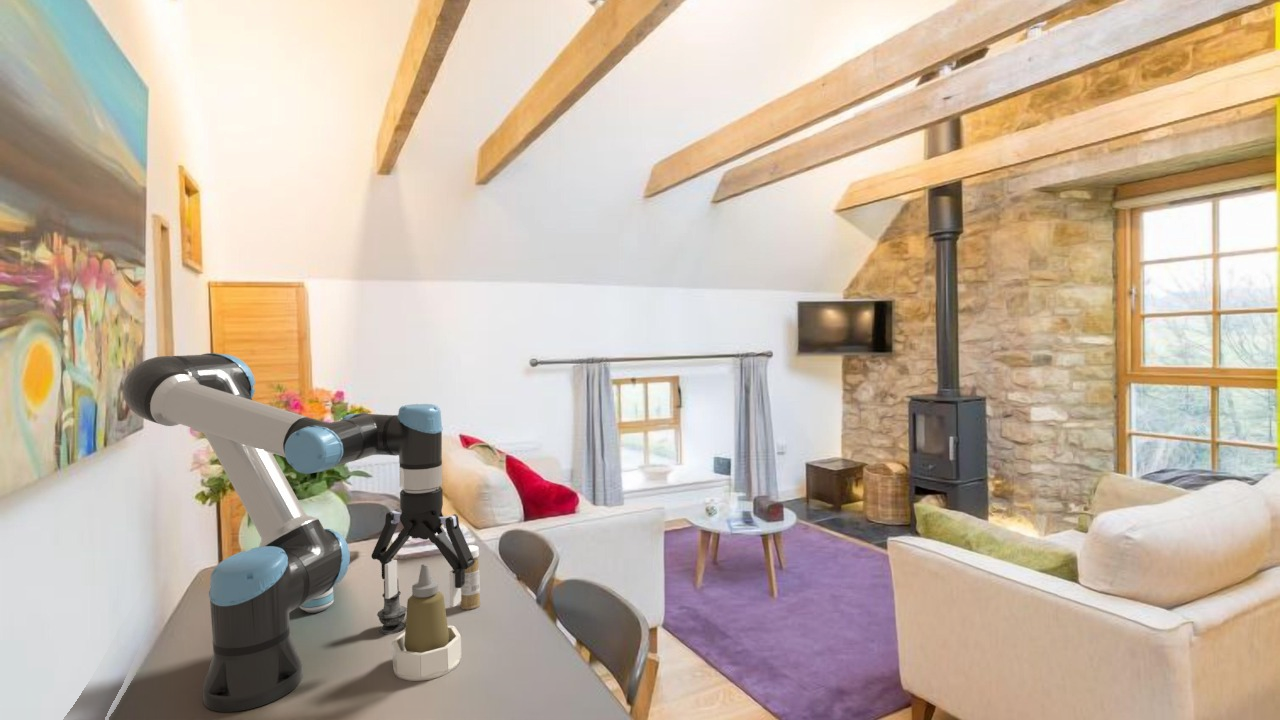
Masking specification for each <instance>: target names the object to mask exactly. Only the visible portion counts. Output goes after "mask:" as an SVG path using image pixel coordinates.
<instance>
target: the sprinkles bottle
mask: <svg viewBox="0 0 1280 720" xmlns="http://www.w3.org/2000/svg"><path fill="white" fill-rule="evenodd" d="M467 545H468V544H467ZM468 547H469V549H470V552H471V554H472V556H473V558H474V561H475V563H474V564H473V565H472V566H470V567H469V568H467V569H465V584H464V586H462V587H461V602H460V604H459V606H460V608H461V609H463V610H473V609H477V608H478V607H479V606H481V600H480V594H481V593H480V592H481V587H480V586H481V585H480V568H479V555H480V550H479V549H480V548H479V546H478V545H473V544H471V545H470V544H469V545H468Z"/></svg>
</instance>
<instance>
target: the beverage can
mask: <svg viewBox="0 0 1280 720" xmlns="http://www.w3.org/2000/svg"><path fill="white" fill-rule="evenodd" d="M333 603H334V587H332V588H331V589H330V590H329V591H327V592H326V593H324V594H322V595H319V596H317V597H316V598H314V599H312V600H310V601H309V602H307V603H305V604H303V605H302V606H300V607H299V609H301V610H302V611H304V612H306V613H308V614H309V613H310V614H311V613H312V614H313V613H319V612H322V611H326V610H327V609H328V608H329V607H330V606H331V605H332V604H333Z"/></svg>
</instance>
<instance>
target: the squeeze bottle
mask: <svg viewBox="0 0 1280 720" xmlns="http://www.w3.org/2000/svg"><path fill="white" fill-rule="evenodd" d="M418 576H419V577H418V581H416V582H415V583H413V584H412V587H411V588H412V590H411V592H412V595H410V596H409V598H407V602H406V608H407V612H406V615H405V624H406V628H405V629H404V630H405V631H404V632H405V642H404V646H405V649H406V651H409V652H417V653H423V652H427V651H430V650H434V649H438V648H442V647H445V646H446V645H447V644H448V640H449V633H448V619H447V613H446V612H447V611H446V604H445V597H444V594H443V593H442V592H440V591H439V582H438V581H437V580H435V579H432V576H431V572H430V567H429V564H428V563H424V564H421V565H420V571H419V575H418Z"/></svg>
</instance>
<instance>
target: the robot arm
mask: <svg viewBox="0 0 1280 720" xmlns="http://www.w3.org/2000/svg"><path fill="white" fill-rule="evenodd" d="M255 385H256V380H255V375H254V373H253V372H252V370H251V369H250V367H249V366H248V364H246V363H245V362H244V361H243V360H242V359H240V358H238V356H237V357H236V356H234V355H232V354H231V355H230V354H225V353H221V354H220V353H215V352H211V353H202V354H188V355H187V354H186V355H172V356H171V355H163V356H156V357H151V358H147V359H146V360H144V361H142V362H140V363H138V364H136V365H135V367H133V368H131V370H130V371H129V372H128V374H127V375H126V376H125V379H124V381H123V385H122V394H123V399H124V402H125V404H126V405H127V407H128V408H129V409H130V411H131V412H133V413H134V414H135V415H137V416H138V417H140V418H142V419H145V420H147V421H149V422H152V423H156V424H158V425H162V426H166V427H175V426H178V425H182V426H184V427H185V426H186V427H189V428H190V429H191V430H192V431H194V432H198V433H202V434H203V435H204V436H205V437H206V439H207V441H208V443H209V445H210V446H211V448H212V450H213V452H214V453H215V456H216V458H217V459H218V461H219V463H220V465H221V467H222V468H223V470H224V472H225V474H226V476H227V478H228V480H229V482H230V483H231V485H232V487H233V489H234V491H235V492H236V495H237V497H238V498H239V500H240V502H241V504H242V506H243V507H244V509H245V511H246V513H247V514H248V516H249V518H250V520H251V522H252V524H253V526H254V527H255V529H256V531H257V532H258V535H259V537H260V540H261V541H260V543H259V546H258V547H254V548H250V549H249V550H242V551H239V552H237V553H235V554H232V555H229V556H228V557H226V558H225V559H223V560H221V561H220V562H219V563H218V564H217V565H216V566H215V567H214V568H213V570H212V572H211V574H210V582H209V583H210V587H209V591H208V598H209V601H210V602H209V603H210V605H209V606H210V614H211V615H210V617H211V633H212V647H213V649H212V652H213V653H212V658H211V661H210V665H209V667H208V670H207V673H206V677H205V680H204V683H203V687H202V698H203V701H202V702H203V705H204V706H205V707H206V708H207V709H209V710H210V711H211V710H212V711H214V712H215V711H216V712H224V713H225V712H226V713H231V712H239V711H241V712H242V711H245V710H251V709H255V708H258V707H262V706H264V705H267V704H271V703H273V702H275V701H277V700H279V699H281V698H283V697H285V696H286V695H287V694H289V693H291V692H292V691H294V690H295V689H296V688H297V687H298V686H299V685H300V683H301V682H302V680H303V677H304V674H303V672H304V670H303V661H302V660H301V657H300V655H299V652H298V651H297V649H296V647H295V644H294V641H293V639H292V637H291V628H290V613H291V612H292V611H294V610H296V609H298V608H300V606H302V605H303V604H305V603H307V602H309V601H310V600H312V599H314V598H316V597H317V596H319V595H322V594H324V593H326V592H327V591H329V590H330V589H331V588H332V587H333V588H334V587H335V586H337V585H338V584H339V583H340V582H342V580H343V579H344V578H345V576H346V574H347V572H348V570H349V569H348V568H349V565H350V561H351V560H350V559H351V557H350V556H351V553H350V549H349V545H348V542H347V541H346V539H345V538H344V536H343V535H342V534H341V533H340V532H339V531H335V530H333V529H331V528H324V527H323V524H322V523H321V521H320V519H319V518H318V517H316V516H315V517H314V516H310V515H307V513H306V512H305V510H304V508H303V506H302V504H301V502H300V501H299V499H298V497H297V495H296V494H295V492H294V490H293V488H292V486H291V485H290V482H289V481H288V479H287V477H286V476H285V474H284V472H283V470H282V468H281V467H280V465H279V463H278V461H277V459H276V458H275V456H274V455H277V456H281V457H283V458H285V460H286V461H287V464H289V465H290V467H292V469H293V470H294V471H296V472H298V473H300V474H308V475H309V474H313V473H323V472H326V471H329V470H330V469H331V470H332V469H333V468H336V467H338V466H342V465H344V464H348V463H351V462H355V461H358V460H361V459H365V458H368V457H371V456H378V455H379V456H397V457H399V458H398V461H399V463H398V464H399V488H400V489H401V491H400V492H399V505H400V506H399V507H400V510H401V512H400V510H399V509H393V510H391V511H389V512H387V513H386V514H385V524H384V525H383V528H382V530H381V533H380V535H379V538H378V539H377V542H376V544H375V546H374V548H373V551H372V553H371V558H372V560H377V561H379V562H380V564H381V578H382V580H385V599H390V598H391V597H393V596H394V595H396V594H397V593H398V589H397V578H398V559H395V558H396V557H395V556H396V555H397V554H398V552H399V551H400V550H401V549H402V548H403V546H405V543H406V542H407V541H408V540H409V539H410V537H411V539H420V540H428V539H429V541H430V542H431V543H432V544H434V545H435V547H436V548H437V549H438V550H439V552H440V553H441V555H442V556H443V557H444V558H445V559H444V560H446V562H447V563H448V564H449V565H450V567H451V568H452V570H450V571H449V573H448V574H449V575H448V576H449V607H450V608H454V607H456V606H457V605H458V604H459V603H460V604H461V587H462V586H464V584H465V569H467V568H469V567H470V566H472V565H473V564H474V563H475V561H474V558H473V556H472V554H471V552H470V549H469V547H468V543H467V540H466V538H465V537H464V534H463V532H462V529H461V528H460V523H459V516H458V515H457V514H456V513H455V514H452V515H450V516H444V514H443V511H442V509H443V506H444V504H443V502H444V500H443V496H444V494H443V488H442V487H441V486H442V485H443V457H442V456H443V455H442V454H443V452H442V449H443V448H442V444H443V443H442V441H443V440H442V439H443V437H442V434H443V433H442V432H443V429H444V428H443V426H442V424H443V423H442V415H441V414H442V413H441V412H442V411H441V409H440V407H439V406H438V405H436V404H432V403H431V404H429V403H419V404H418V403H416V404H415V403H414V404H406V405H402V406H399V409H398V413H397V414H395V415H393V414H377V413H376V414H375V413H368V412H361V413H349V414H347V415H345V416H343V418H342V419H341V420H338V421H332V422H326V421H322V420H319V419H315V418H312V417H309V416H306V415H302V414H300V413H296V412H292V411H289V410H286V409H282V408H279V407H275V406H273V405H269V404H265V403H263V402H259V401H256V400H253V397H254V395H255V392H256V388H254V387H255ZM399 523H401V524H402V526H403V527H402V530H401V531H400V532H399V533H398V534H397V537H396V538H395V539H394V541H393V542H392V543H391V545H390V542H391V541H392V538H393V536H394V533H395V532H396V529H397V527H398V525H399ZM442 525H443V527H442ZM445 529H446V531H445ZM447 535H448V536H447Z"/></svg>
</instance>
